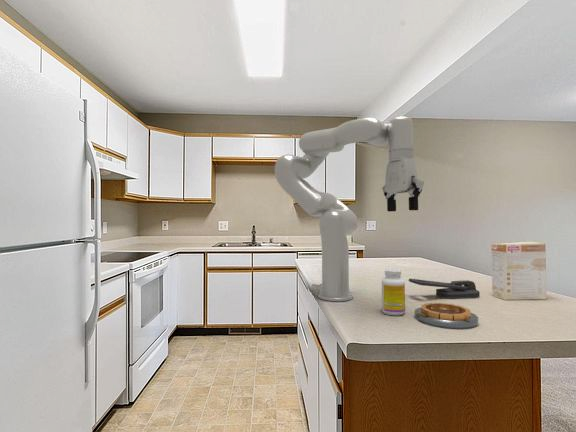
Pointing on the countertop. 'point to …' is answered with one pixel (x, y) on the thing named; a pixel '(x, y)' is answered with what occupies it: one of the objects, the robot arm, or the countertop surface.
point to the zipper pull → (452, 289)
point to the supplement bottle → (393, 293)
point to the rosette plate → (446, 316)
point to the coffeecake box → (519, 270)
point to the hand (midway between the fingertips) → (402, 210)
